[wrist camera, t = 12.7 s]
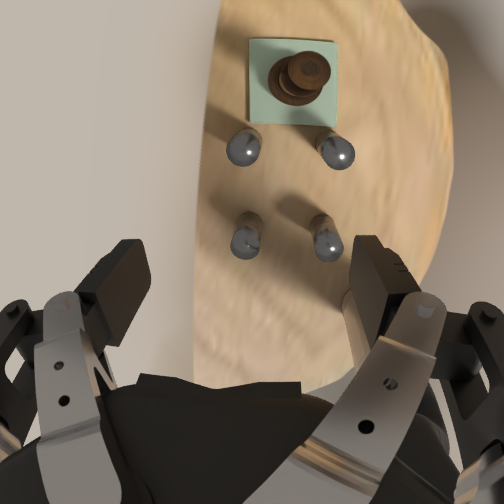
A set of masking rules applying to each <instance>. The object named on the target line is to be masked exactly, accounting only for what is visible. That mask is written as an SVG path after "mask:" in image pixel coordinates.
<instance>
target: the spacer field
mask: <svg viewBox="0 0 504 504" xmlns="http://www.w3.org/2000/svg"><path fill="white" fill-rule="evenodd" d="M261 146H262V137H261V135H260V134H259V132H257V131H256V130H254V129H251V128H245V129H242V130H241V131H239V132H238V133H237V134H236V135H235V136H234V137H233V138H232V139H231V140H230V141H229V143H228V145H227V149H226V152H227V156H228V158H229V160H230V161H231V162H232V163H233V164H235V165H237V166H241V167H245V166H249V165H251V164H253V163H254V162H255V161H256V160H257V158H258V156H259V152H260V149H261ZM316 149H317V151H318V152H319V154H320V155H321V156H322V158H323V159H324V161H325V162H326V163H327V165H328V166H329V167H331V168H332V169H335V170H344V169H346V168H348V167H349V166H351V164H352V163H353V161H354V159H355V150H354V148H353V146H352V145H351V143H349V142H348V141H347V140H345V139H344V138H342V137H341V136H339V135H338V134H336V133H335V132H332V131H325V132H323V133H321V134H320V135H319V136H318V137H317V139H316ZM261 229H262V221H261V218H260V217H259V216H258V215H257V214H255V213H252V212H246V213H243V214H242V215H241V216H240V217H239V218H238V221H237V224H236V227H235V231H234V234H233V238H232V241H231V246H230V247H231V251H232V253H233V254H234V255H235V256H236V257H238V258H240V259H244V260H247V259H251V258H253V257H255V256H256V255H257V254H258V252H259V247H260V238H261ZM310 229H311V233H312V238H313V242H314V247H315V252H316V255H317V257H318V258H319V259H320V260H322V261H324V262H333V261H335V260H337V259H338V258H340V257H341V255H342V253H343V250H344V247H343V244H342V241H341V238H340V236H339V233H338V231H337V228H336V226H335V223H334V221H333V219H332V218H331V217H330V216H328V215H318V216H316V217H315V218H314V219H313V220H312V221H311V224H310Z"/></svg>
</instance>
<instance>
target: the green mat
mask: <svg viewBox="0 0 504 504" xmlns="http://www.w3.org/2000/svg"><path fill="white" fill-rule="evenodd" d="M302 51H314V52H317V53H319V54H321V55H322V56H324V57H325V58H326V59H327V61H328V62H329V64H330V67H331V76H330V79H329V81H328V82H327V83H326V84H325V85H324V86H323V89H322V91H321V93H320V95H319V96H318V98H317V99H315V100H314V101H313V102H311V103H309V104H307V105H303V106H291V105H287V104H284V103H282V102H280V101H279V100H277V99H276V98H275V97H274V96H273V95H272V93H271V92H270V90H269V87H268V74H269V71H270V69H271V68H272V66H273V65H274V64H275V63H276V62H277V61H279V60H280V59H282V58H284V57H288V56H294V55H296V54H297V53H299V52H302ZM249 81H250V124H297V125H316V126H329V127H336V120H337V90H338V43H332V42H322V41H311V40H295V39H249Z"/></svg>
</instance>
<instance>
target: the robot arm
mask: <svg viewBox="0 0 504 504" xmlns="http://www.w3.org/2000/svg"><path fill="white" fill-rule="evenodd" d="M349 282H350V288H351V289H350V290H349V291H348V292H347V293H346V295H345V296H344V298H343V301H342V311H343V316H344V319H345V324H346V328H347V333H348V337H349V342H350V347H351V351H352V356H353V361H354V366H355V371H356V375H355V376H354V378H353V379H352V381H351V382H350V384H349V385H348V387H347V388H346V389H345V391H344V392H343V394H342V395H341V396H340V398H339V399H338V401H337V402H336V403H335V405H334V404H332V403H330V402H328V401H326V400H323V399H321V398H318V397H315V396H311V395H308V394H302V393H301V382H256V383H251V384H246V385H240V386H234V387H228V388H222V389H211V388H208V387H204V386H201V385H198V384H194V383H191V382H188V381H185V380H182V379H179V378H176V377H167V376H159V375H150V374H143V373H140V375H139V378H138V381H137V383H136V384H133V385H128V386H123V387H120V388H118V387H117V384H116V382H115V379H114V376H113V373H112V370H111V367H110V364H109V361H108V357H107V355H106V353H105V351H104V348H105V346H106V345H109V346H116V347H119V345H120V343H121V342H122V340H123V338H124V336H125V333H126V332H127V330H128V328H129V326H130V324H131V322H132V320H133V318H134V316H135V314H136V312H137V311H138V309H139V307H140V305H141V303H142V301H143V300H144V298H145V296H146V294H147V292H148V290H149V288H150V285H151V274H150V269H149V266H148V261H147V257H146V253H145V249H144V245H143V242H142V241H141V240H140V239H124V240H121V241H120V242H119V243H118V244H117V246H115V248H114V249H113V250H112V251H111V252H110V253H109V254H107V255H106V256H104V257H103V258H101V259H100V260H99V262H98V263H97V264H96V265H95V267H94V268H93V269H92V270H91V271H90V273H89V274H88V275H87V276H86V277H85V278H84V279H83V280H82V282H81V283H80V284H79V285H78V287H77V288H76V289H75V290H74V291H73V292H72V291H67V292H63V293H59V294H57V295H55V296H54V297H52V298H51V299H50V300H49V301H48V302H47V303H46V304H45V306H44V309H43V310H37V311H32V310H31V309H30V307H29V305H28V303H27V301H26V300H22V299H20V300H16V301H13V302H11V303H10V304H8V305H7V306H6V307H5V308H4V309H3V310H2V311H1V312H0V504H504V314H503V313H502V312H501V310H500V309H498V308H497V307H496V306H494V305H492V304H490V303H487V302H476V303H474V304H472V305H471V307H470V310H469V312H468V314H467V315H466V314H460V313H453V312H448V311H447V309H446V306H445V304H444V303H443V302H442V301H441V300H440V299H439V298H438V297H436V296H434V295H432V294H430V293H426V292H422V291H421V289H420V288H419V286H418V284H417V283H416V281H415V279H414V278H413V276H412V275H411V273H410V272H408V269H407V267H406V266H405V265H404V263H403V261H402V260H401V258H400V257H399V255H398V254H396V253H395V252H393V251H392V250H391V249H389V248H384V247H383V245H382V244H381V242H380V241H379V239H378V238H377V236H376V235H356V236H355V238H354V243H353V251H352V259H351V266H350V274H349ZM15 348H17V350H18V351H19V353H20V354H21V356H22V357H23V359H24V360H25V362H24V363H23V365H22V367H21V368H20V370H19V372H18V374H17V376H16V377H15V379H14V381H13V383H11V382H10V380H9V379H8V378H7V376H6V374H5V364H6V362H7V360H8V359H9V357H10V355H11V354H12V352H13V351H14V349H15ZM482 366H483V368H484V370H485V372H486V375H487V377H488V380H489V385H490V388H489V393H488V392H487V390H486V387H485V385H484V382H483V380H482V378H481V375H480V373H479V371H480V369H481V368H482ZM430 378H433V379H439V380H440V383H441V386H442V389H443V392H444V395H445V398H446V402H447V405H448V408H449V412H450V415H451V418H452V422H453V426H454V430H455V433H456V438H457V442H458V446H459V450H460V454H461V459H462V464H463V469H464V470H463V471H462V472H461V474H460V472H459V471H458V469H457V468H456V466H455V464H454V463H453V461H452V460H451V458H450V457H449V449H450V447H449V439H448V434H447V431H446V427H445V424H444V421H443V418H442V415H441V412H440V409H439V406H438V403H437V401H436V397H435V395H434V392H433V390H432V388H431V386H430V384H429V382H428V381H429V379H430ZM37 411H38V416H39V423H40V430H41V436H40V437H38V438H36V439H35V440H33V441H32V442H30V443H29V444H27V445H25V446H24V447H23V445H24V442H25V439H26V437H27V434H28V432H29V430H30V427H31V425H32V422H33V420H34V418H35V416H36V413H37Z"/></svg>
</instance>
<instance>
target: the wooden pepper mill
mask: <svg viewBox="0 0 504 504" xmlns="http://www.w3.org/2000/svg"><path fill="white" fill-rule="evenodd" d="M330 76H331V67H330V64H329V62H328V61H327V59H326V58H325V57H324V56H322V55H321V54H319V53H317V52H314V51H302V52H299V53H297V54H296V55H294V56H288V57H284V58H282V59H280V60H279V61H277V62H276V63H275V64H274V65H273V66H272V68H271V69H270V71H269V74H268V87H269V90H270V92H271V93H272V95H273V96H274V97H275V98H276V99H277V100H279V101H280V102H282V103H284V104H287V105H291V106H303V105H307V104H309V103H311V102H313V101H314V100H315V99H317V98H318V96H319V95H320V93H321V91H322V89H323V86H324V85H325V84H326V83H327V82H328V81H329V79H330Z"/></svg>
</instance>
